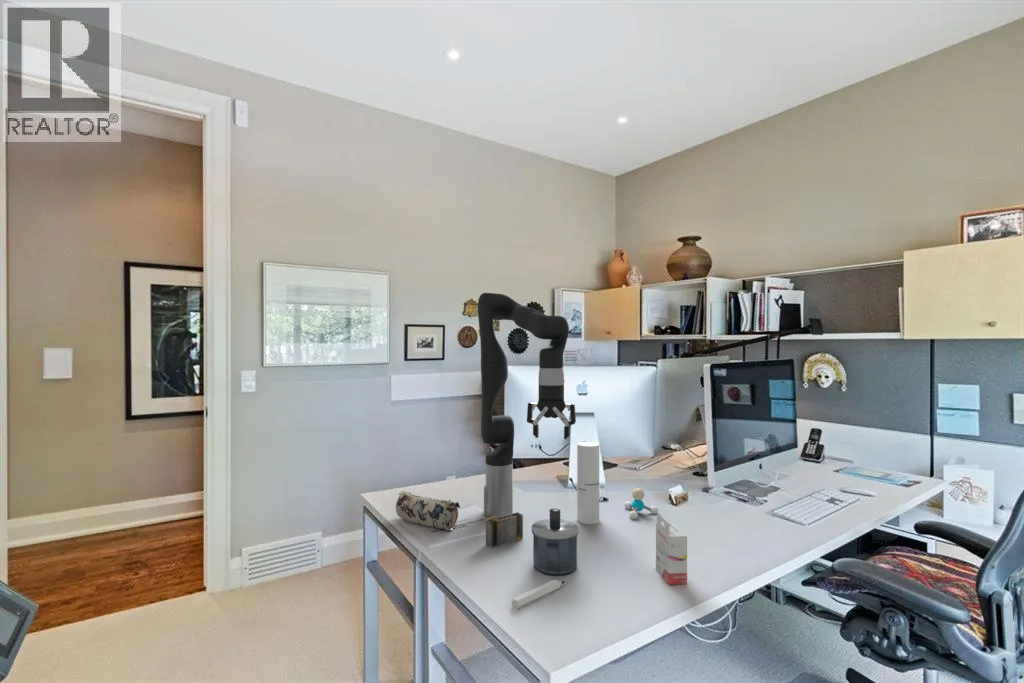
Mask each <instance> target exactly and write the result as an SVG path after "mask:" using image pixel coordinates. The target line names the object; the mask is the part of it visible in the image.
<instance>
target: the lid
mask: <svg viewBox="0 0 1024 683" xmlns="http://www.w3.org/2000/svg"><path fill="white" fill-rule="evenodd" d="M531 533H532V535H535V536H536V537H538V538H541V539H544V540H550V541H565V540H570V539H573V538H575V537H576V536H577V537H578V535H579V526H578V525H577V524H576V523H574V522H573V521H570V520H567V519H566V520H565V519H561V509H559V508H554V507H553V508H550V509H549V518H547V519H546V518H545V519H541V520H537V521H535V522H534V523H532V525H531Z"/></svg>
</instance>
